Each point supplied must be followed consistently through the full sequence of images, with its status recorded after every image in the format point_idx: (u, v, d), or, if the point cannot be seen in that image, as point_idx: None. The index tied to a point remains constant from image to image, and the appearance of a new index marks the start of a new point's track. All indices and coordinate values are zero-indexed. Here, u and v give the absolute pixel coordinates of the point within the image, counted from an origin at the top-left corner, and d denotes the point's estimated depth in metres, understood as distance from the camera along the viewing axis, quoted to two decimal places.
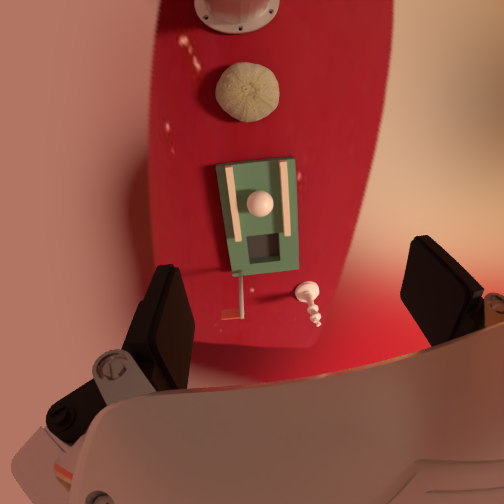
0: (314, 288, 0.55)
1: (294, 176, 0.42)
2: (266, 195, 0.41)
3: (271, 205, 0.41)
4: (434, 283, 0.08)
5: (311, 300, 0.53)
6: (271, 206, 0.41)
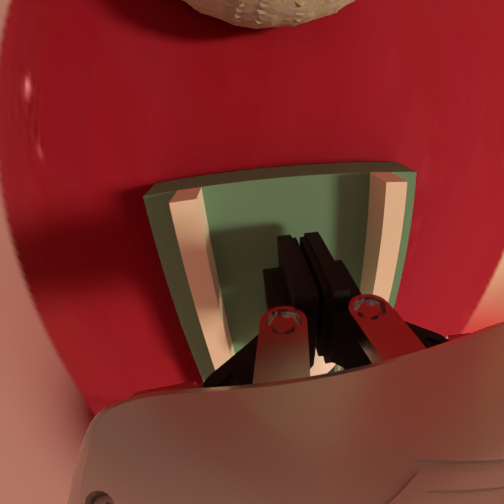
0: None
1: (406, 227, 0.12)
2: None
3: None
4: None
5: None
6: None
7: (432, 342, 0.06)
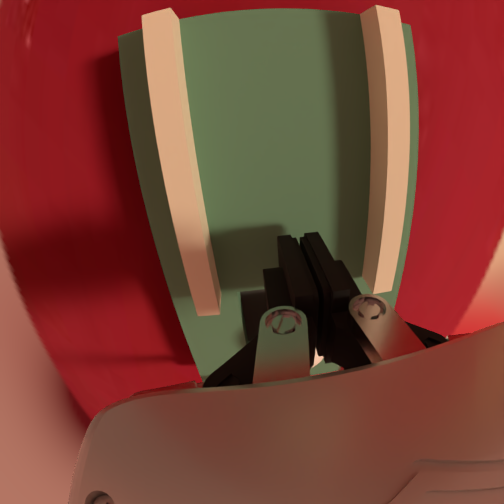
0: None
1: (413, 81, 0.09)
2: None
3: None
4: None
5: None
6: None
7: (432, 342, 0.06)
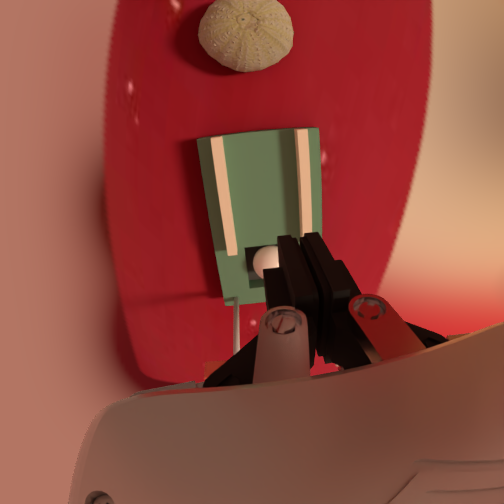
0: None
1: (318, 155, 0.27)
2: None
3: None
4: None
5: None
6: None
7: (432, 342, 0.06)
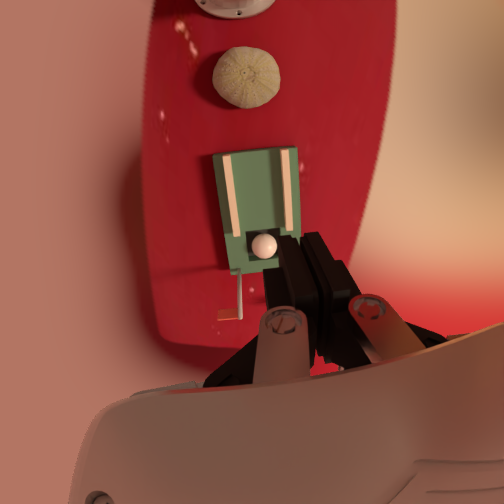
0: None
1: (296, 166, 0.39)
2: None
3: None
4: None
5: None
6: None
7: (432, 342, 0.06)
